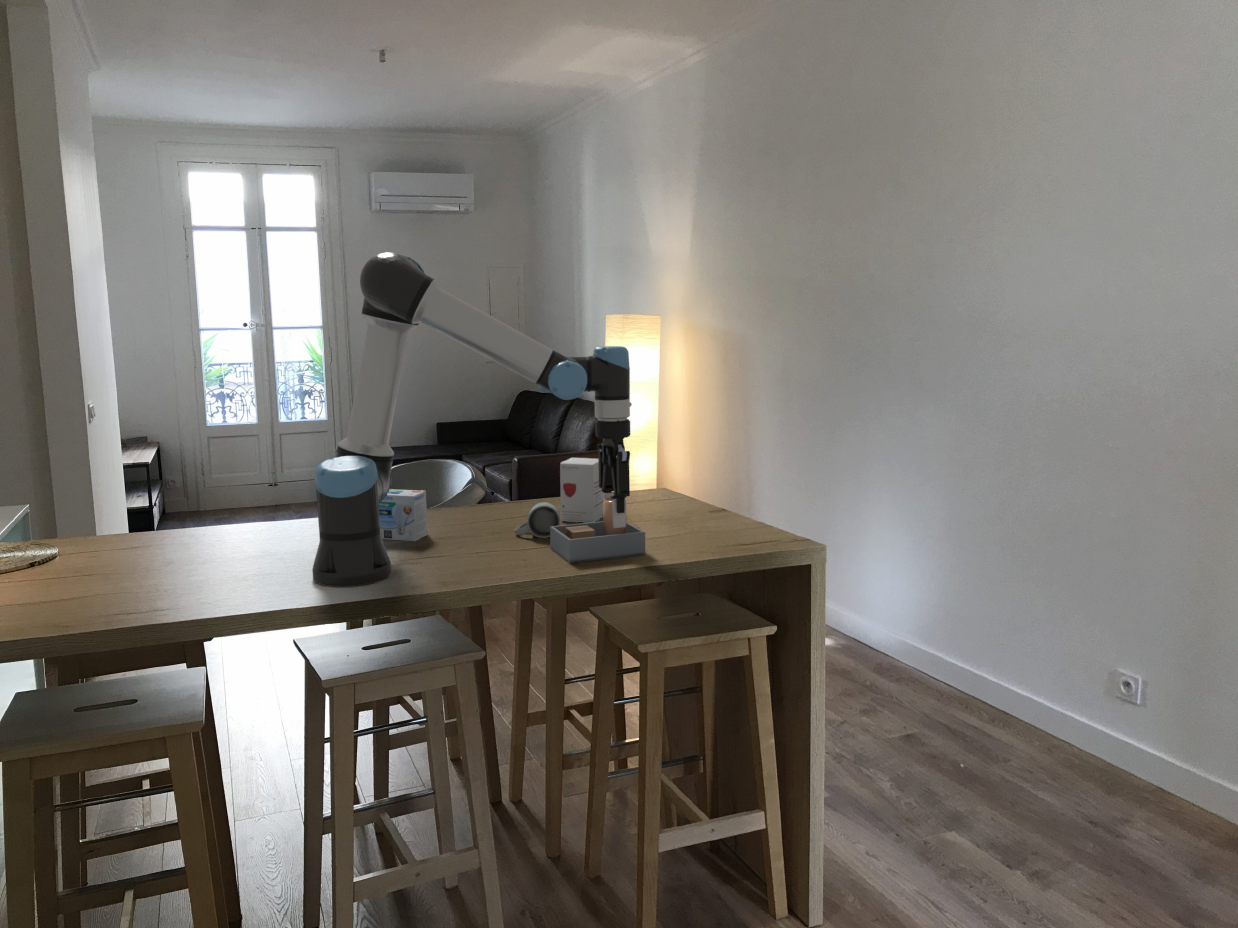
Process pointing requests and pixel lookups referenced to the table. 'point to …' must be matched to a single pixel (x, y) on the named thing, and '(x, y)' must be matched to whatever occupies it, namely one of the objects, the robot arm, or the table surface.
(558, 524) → the ceramic mug
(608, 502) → the glossy tan capsule
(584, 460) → the supplement box
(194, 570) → the table surface
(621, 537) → the tote
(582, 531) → the walnut cube
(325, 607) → the table surface
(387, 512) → the light bulb box
